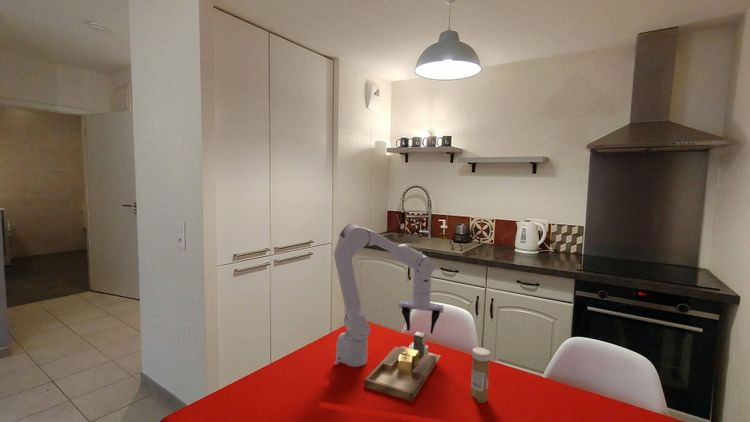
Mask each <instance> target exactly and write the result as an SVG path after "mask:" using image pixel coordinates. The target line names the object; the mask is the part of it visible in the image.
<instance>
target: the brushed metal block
mask: <svg viewBox="0 0 750 422" xmlns="http://www.w3.org/2000/svg"><path fill="white" fill-rule="evenodd" d="M407 347H408V348H409V349H413V350H417V351H419V356H418V358H421V359H422V358H423V356H424V355H425V354H428V352H429V345H427V344H426V332H421V331H415V333H414V334H413V341H412V342H411V343H410V344H409V346H407Z"/></svg>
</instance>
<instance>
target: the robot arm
mask: <svg viewBox="0 0 750 422" xmlns="http://www.w3.org/2000/svg"><path fill="white" fill-rule="evenodd" d="M366 246H368V247H370V246H378V247H380V248H382V249H384V250H386V251H388V252H389V253H392V254H393V256H394V259H395V260H396V261H397V262H400V263H402V264H404V265H406V266H407V267H409V268H411V269H413V281H412V282H413V284H412V300H404V301H403V300H400V301H399V302H398V309H401V315H402V316H403V318H404V320H405V325H406V331H408V332H410V330H411V310H417V311H427V312H431V324H430V325H431V326H430V331H429V332H430V334H433V333H434V328H435V325H436V323H437V321H438V319H439V318H440V313H441V314H444V305H443V304H437V303H432V302H431V289H432V287H431V285H432V273H433V272H434V271H435V268H436V265H435V262H434V261H433V259H432V258H431V257H429V256H427V255H426V254H424V253H423V252H422V251H420V250H416V249H414V248H412V245H411V244H409V243H406V244H405V243H401V244H397V243H395V242H393V241H391V240H390V239H388V238H387V237H385V236H383V235H381V234H380V233H378V232H376V231H375V230H371V229H368V228H366V227H363V226H360V225H358V224H356V223H349V224H347V225H345V227H344V228H343V229H342V230H341V231H340V233H339V237H338V241H337V243H336V247H335V249H334V253H333V256H334V261H335V267H336V272H337V276H338V280H339V285H340V288H341V294H342V299H343V304H344V318H343V324H344V327H345V328H346V330H345V332H341V333H340V334H339V335H338V338H337V340H336V344H335V345H336V346H335V347H336V348H335V349H336V352H335V362H334V365H339V363H342V364H345V365H346V366H348V367H349V366H350V367H354V368H355V367H362V366H364V365H366V364H367V362H368V342H369V341H368V339H369V338H368V337H369V336H370V334H371V326H370V324H369V323H368V322H367V321H366V317H365V314H364V311H363V308H362V305H361V300H360V295H359V290H358V286H357V282H356V281H357V280H356V275H355V271H354V267H353V262H352V258H353V257H354V256H355V254H356V253H357V252H359V251H361V250H362V249H363V248H364V247H366Z"/></svg>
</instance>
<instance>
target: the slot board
mask: <svg viewBox="0 0 750 422" xmlns="http://www.w3.org/2000/svg"><path fill="white" fill-rule="evenodd" d="M408 347H409V346H404V345H401V346H399V347H398V346H394V348H393V349H392V350H391V351H390V352H389V353H388V354H387V355H386V356H385V357H384V359H382V361H381V362H379V364H378V365H376V367H375V368H374V369H373V370H372V371H371V372H370V373H369V375H367V376H366V378H364V387H365V388H367V389H371V390H374V391H377V392H381V393H383V394H387V395H391V396H393V397H398V398H400V399H402V400H407V401H410V402H413V401H414V400H415V398H416V396H417V395H418V393H419V391H420V390H421V388H422V387H423V385H424V383H425V382H426V381H427V379H428V377H429V375H430V373H431V372H432V371H433V369H434V367H435V366H436V364H437V363H438V360H439V359H440V358H441V356H442V355H440V354H436V353H433V352H429V351H428V354H425V355H424V356H423V358H422V359H421V358H418V364H417V365H416V367H415V368H414V369H413V368H412V373H411V375H405V374H398V359H399V355H400V354H401V355H402V353H403V352H404V351H405V349H406V348H408Z"/></svg>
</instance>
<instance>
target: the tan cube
mask: <svg viewBox="0 0 750 422" xmlns="http://www.w3.org/2000/svg"><path fill="white" fill-rule="evenodd" d="M402 355H410V356H413V360H412V368H413V369H414V368H415V367H416V365H417V364H418V356H419V351H417V350H413V349H409V348H406V349H405V351H404V352H403V353H402Z"/></svg>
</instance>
